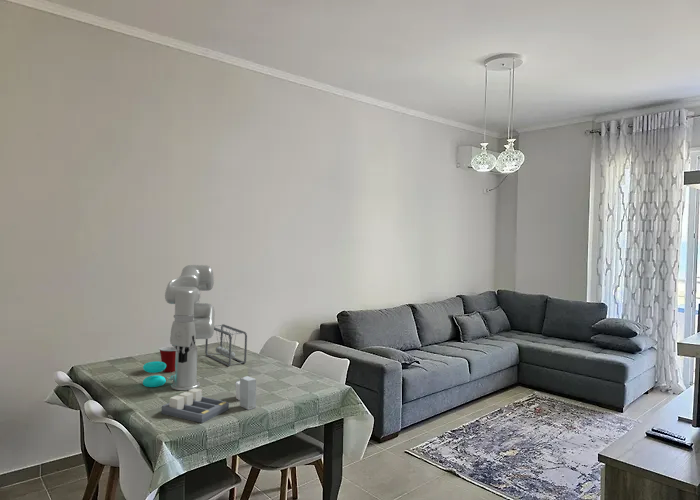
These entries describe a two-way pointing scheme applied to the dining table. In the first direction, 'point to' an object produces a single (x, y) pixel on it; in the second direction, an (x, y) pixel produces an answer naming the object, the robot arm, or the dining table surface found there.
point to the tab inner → (196, 394)
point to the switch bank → (198, 410)
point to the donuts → (156, 379)
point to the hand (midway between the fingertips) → (182, 361)
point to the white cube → (177, 402)
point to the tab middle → (187, 398)
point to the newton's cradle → (224, 351)
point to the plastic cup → (168, 358)
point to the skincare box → (248, 392)
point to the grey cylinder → (238, 390)
